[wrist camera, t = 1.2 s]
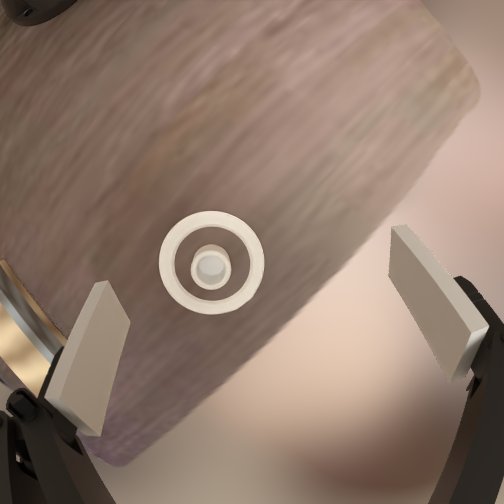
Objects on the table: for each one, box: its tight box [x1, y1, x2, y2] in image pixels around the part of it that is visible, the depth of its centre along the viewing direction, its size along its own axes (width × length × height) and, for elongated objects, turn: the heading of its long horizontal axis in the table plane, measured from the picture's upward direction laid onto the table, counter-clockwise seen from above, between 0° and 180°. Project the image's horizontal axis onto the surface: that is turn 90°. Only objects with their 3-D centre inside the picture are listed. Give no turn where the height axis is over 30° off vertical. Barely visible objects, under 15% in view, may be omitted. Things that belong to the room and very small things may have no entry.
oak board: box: [0, 259, 67, 397], centre depth 33 cm, size 21×12×4 cm, turn 38°
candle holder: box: [159, 211, 264, 314], centre depth 35 cm, size 12×12×4 cm
